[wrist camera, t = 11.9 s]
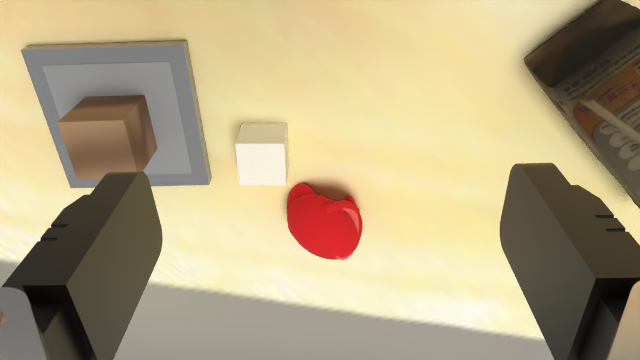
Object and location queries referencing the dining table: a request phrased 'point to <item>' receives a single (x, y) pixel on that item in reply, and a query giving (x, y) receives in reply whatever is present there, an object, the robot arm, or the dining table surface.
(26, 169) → the dining table surface
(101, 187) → the robot arm
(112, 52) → the plate
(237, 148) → the cream block
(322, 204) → the red rounded lumpy piece
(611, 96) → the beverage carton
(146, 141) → the walnut block
